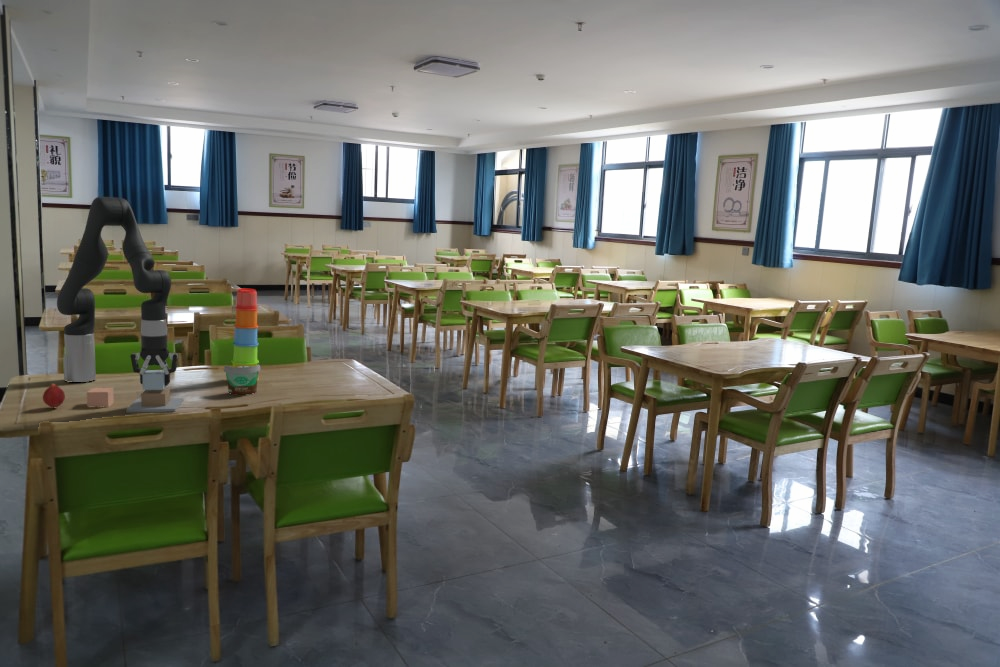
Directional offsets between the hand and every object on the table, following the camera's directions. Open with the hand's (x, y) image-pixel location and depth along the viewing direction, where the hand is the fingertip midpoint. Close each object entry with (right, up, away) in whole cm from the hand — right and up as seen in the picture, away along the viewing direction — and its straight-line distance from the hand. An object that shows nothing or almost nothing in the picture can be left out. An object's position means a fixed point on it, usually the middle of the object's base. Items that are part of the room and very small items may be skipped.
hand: (155, 385), depth 234 cm
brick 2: (0, -1, 0) cm, 1 cm away
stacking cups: (+14, -1, +43) cm, 45 cm away
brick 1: (-17, -6, 0) cm, 19 cm away
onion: (-28, -7, -6) cm, 30 cm away
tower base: (0, -7, +1) cm, 7 cm away
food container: (+21, -5, +22) cm, 31 cm away
